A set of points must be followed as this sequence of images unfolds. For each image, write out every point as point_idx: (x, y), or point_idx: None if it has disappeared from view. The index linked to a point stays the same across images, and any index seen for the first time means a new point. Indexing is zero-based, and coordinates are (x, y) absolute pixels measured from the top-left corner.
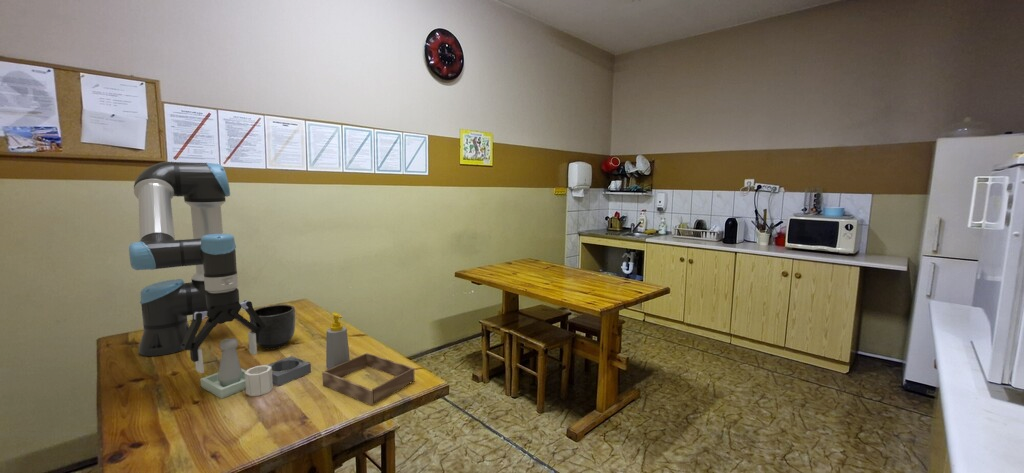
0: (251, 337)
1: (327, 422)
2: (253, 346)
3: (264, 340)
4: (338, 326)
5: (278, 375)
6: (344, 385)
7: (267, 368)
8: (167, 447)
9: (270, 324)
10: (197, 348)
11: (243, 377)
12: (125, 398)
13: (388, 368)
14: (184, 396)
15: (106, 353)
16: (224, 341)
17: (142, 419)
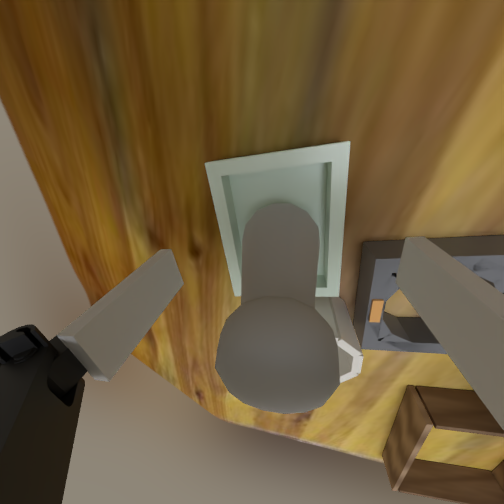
0: (478, 362)
1: (317, 436)
2: (423, 314)
3: None
4: None
5: (366, 347)
6: (402, 447)
7: (350, 362)
8: (154, 348)
9: None
10: (79, 388)
11: (325, 221)
12: (16, 38)
13: None
14: (173, 192)
15: None
16: (238, 393)
17: (105, 241)
